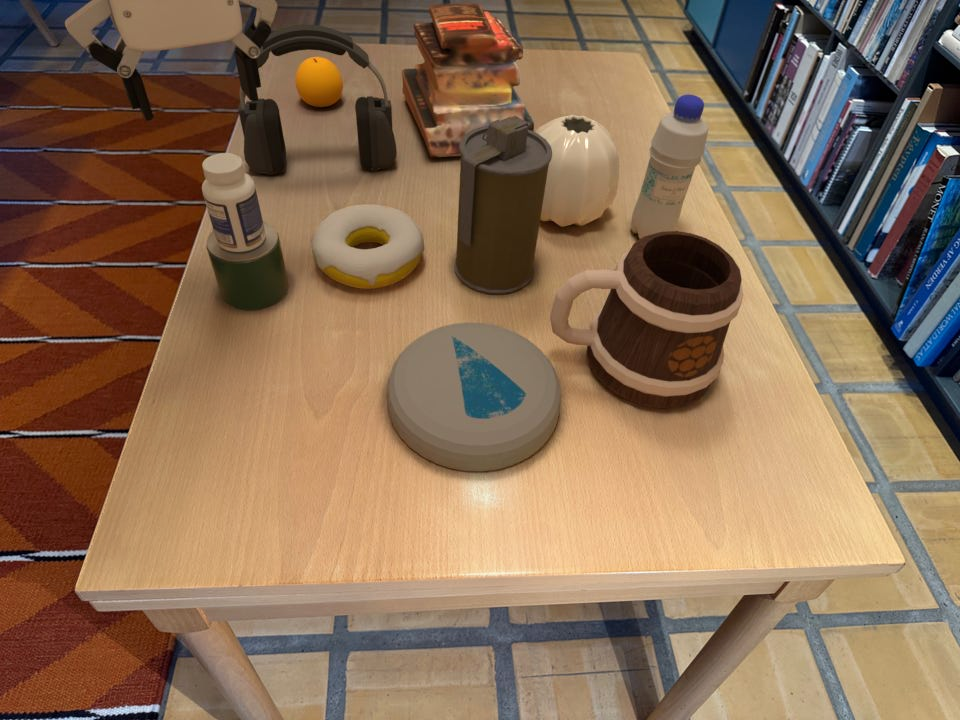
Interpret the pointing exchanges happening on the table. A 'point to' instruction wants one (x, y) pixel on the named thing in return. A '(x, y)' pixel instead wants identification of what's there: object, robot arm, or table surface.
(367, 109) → the headphones
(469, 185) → the canister
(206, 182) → the pill bottle
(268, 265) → the tin can
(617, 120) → the table surface
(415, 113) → the book
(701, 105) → the bottle
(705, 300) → the mug
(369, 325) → the table surface
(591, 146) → the vase
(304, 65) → the orange
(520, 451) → the frisbee
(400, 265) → the donut
